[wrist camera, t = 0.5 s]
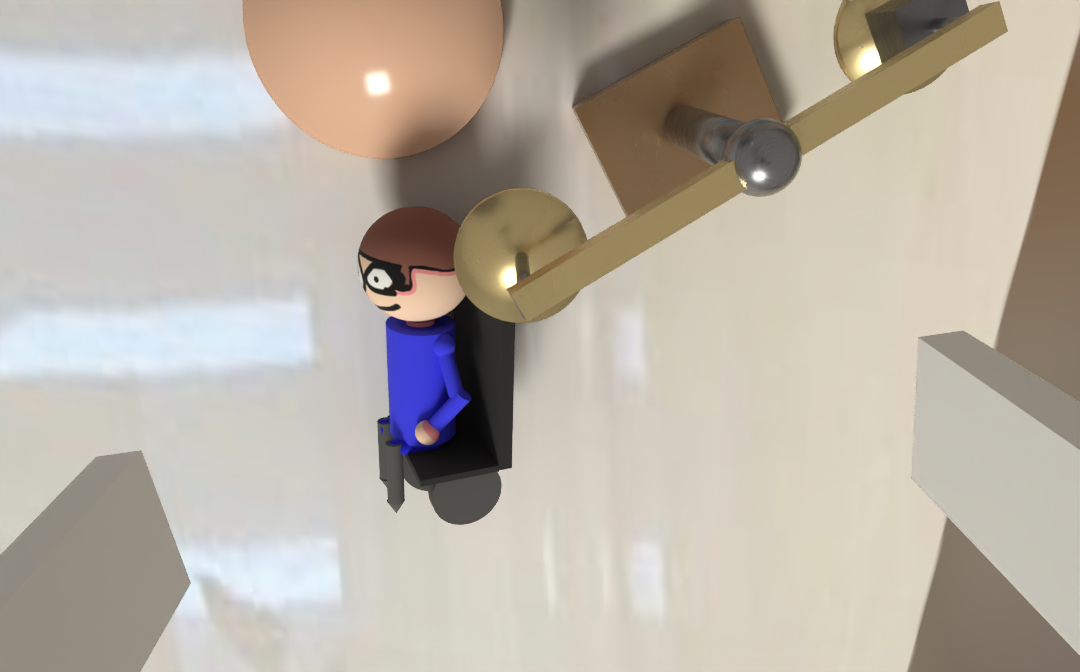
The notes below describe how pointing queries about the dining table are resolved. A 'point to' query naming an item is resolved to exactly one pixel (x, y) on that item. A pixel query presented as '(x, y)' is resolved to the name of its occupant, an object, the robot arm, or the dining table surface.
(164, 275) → the dining table surface
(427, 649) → the dining table surface
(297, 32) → the peach glossy dome
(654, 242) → the balance
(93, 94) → the dining table surface
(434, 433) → the character figurine
